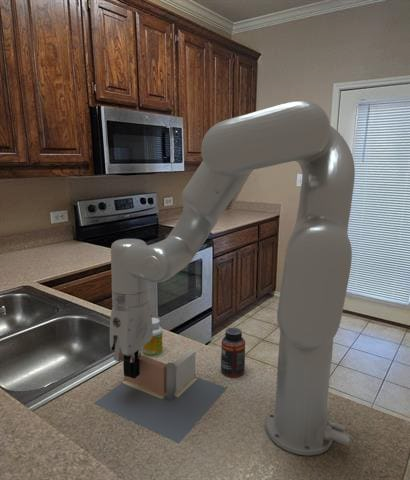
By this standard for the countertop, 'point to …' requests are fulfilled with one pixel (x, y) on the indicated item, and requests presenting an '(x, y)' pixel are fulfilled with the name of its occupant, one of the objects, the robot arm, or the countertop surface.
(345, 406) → the countertop surface
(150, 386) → the fence panel
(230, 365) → the supplement bottle
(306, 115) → the robot arm
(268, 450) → the countertop surface
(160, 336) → the supplement bottle
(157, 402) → the board
